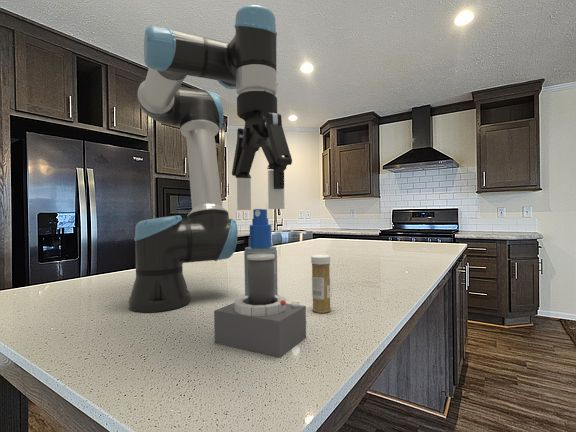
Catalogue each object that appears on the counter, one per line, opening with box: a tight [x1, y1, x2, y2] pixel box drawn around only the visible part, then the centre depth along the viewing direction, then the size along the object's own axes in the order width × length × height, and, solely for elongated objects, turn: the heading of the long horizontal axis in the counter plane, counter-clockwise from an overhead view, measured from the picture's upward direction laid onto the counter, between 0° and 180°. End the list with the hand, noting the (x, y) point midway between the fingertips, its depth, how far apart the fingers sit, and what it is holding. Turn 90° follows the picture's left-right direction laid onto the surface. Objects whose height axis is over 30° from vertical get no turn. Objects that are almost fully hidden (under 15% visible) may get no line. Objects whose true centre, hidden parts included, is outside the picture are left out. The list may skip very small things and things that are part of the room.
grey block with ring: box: [213, 295, 307, 358], centre depth 64 cm, size 14×10×8 cm
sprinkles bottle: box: [310, 254, 332, 314], centre depth 82 cm, size 5×5×13 cm
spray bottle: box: [243, 208, 279, 296], centre depth 92 cm, size 9×9×25 cm
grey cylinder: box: [247, 254, 276, 305], centre depth 64 cm, size 5×5×10 cm
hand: (258, 209), depth 63 cm, fingers open, 13 cm apart
